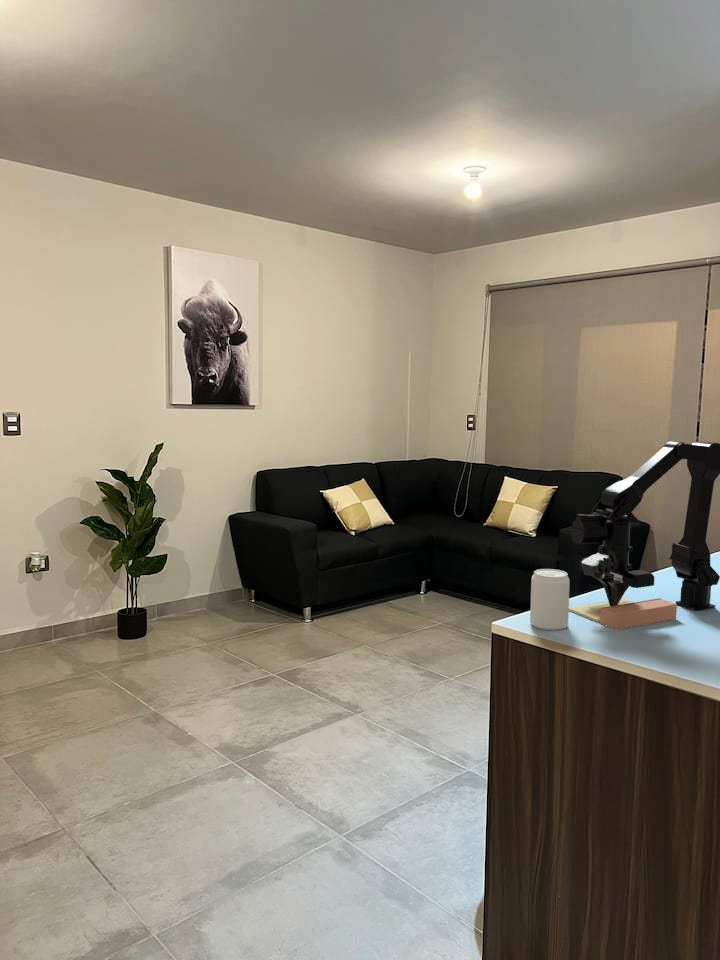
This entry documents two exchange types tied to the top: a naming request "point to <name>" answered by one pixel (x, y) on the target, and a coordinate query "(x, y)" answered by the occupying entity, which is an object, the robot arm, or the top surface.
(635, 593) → the top surface
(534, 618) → the beverage can
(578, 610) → the tan rectangular slab
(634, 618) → the pink long block
